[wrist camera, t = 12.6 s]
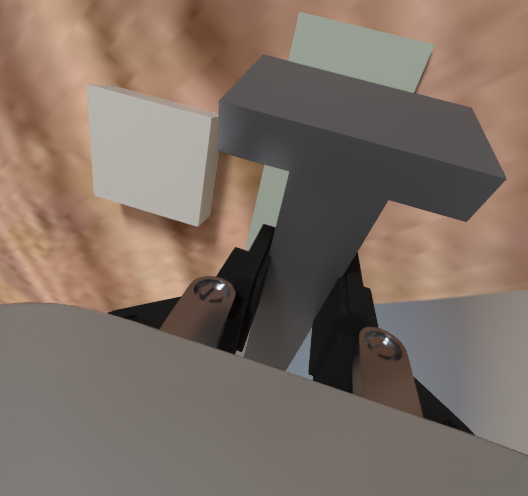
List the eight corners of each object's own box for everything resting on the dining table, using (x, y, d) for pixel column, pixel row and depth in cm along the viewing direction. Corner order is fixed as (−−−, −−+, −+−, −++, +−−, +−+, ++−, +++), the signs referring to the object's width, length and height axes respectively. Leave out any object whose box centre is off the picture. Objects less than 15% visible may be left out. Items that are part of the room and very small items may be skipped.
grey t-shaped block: (317, 336, 20) (309, 390, 17) (232, 308, 20) (212, 358, 18) (471, 107, 8) (506, 178, 6) (263, 54, 8) (219, 100, 6)
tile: (211, 117, 21) (86, 84, 22) (198, 226, 26) (94, 195, 26) (225, 115, 24) (114, 85, 25) (211, 213, 29) (117, 186, 29)
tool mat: (431, 46, 19) (434, 44, 19) (330, 284, 29) (330, 288, 28) (300, 14, 20) (299, 11, 19) (244, 257, 30) (242, 260, 29)
